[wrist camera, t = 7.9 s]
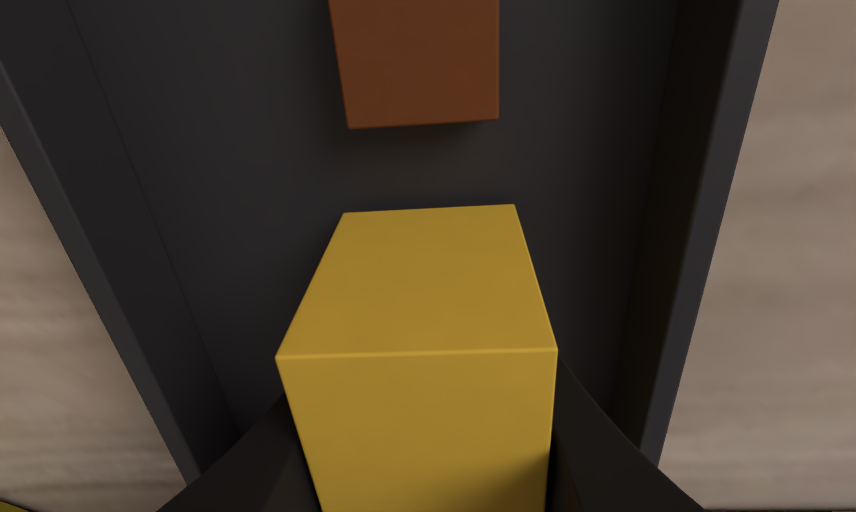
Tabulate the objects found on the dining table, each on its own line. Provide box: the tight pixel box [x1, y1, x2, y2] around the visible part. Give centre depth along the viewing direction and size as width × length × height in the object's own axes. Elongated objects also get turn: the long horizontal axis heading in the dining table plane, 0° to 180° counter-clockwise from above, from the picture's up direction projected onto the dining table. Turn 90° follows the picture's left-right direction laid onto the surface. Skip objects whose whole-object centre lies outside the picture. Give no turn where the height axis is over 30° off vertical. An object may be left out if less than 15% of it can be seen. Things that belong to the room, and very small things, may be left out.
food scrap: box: [327, 0, 499, 130], centre depth 9 cm, size 3×3×1 cm
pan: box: [0, 0, 779, 486], centre depth 10 cm, size 19×13×3 cm
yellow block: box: [275, 204, 558, 512], centre depth 10 cm, size 7×4×5 cm, turn 4°
